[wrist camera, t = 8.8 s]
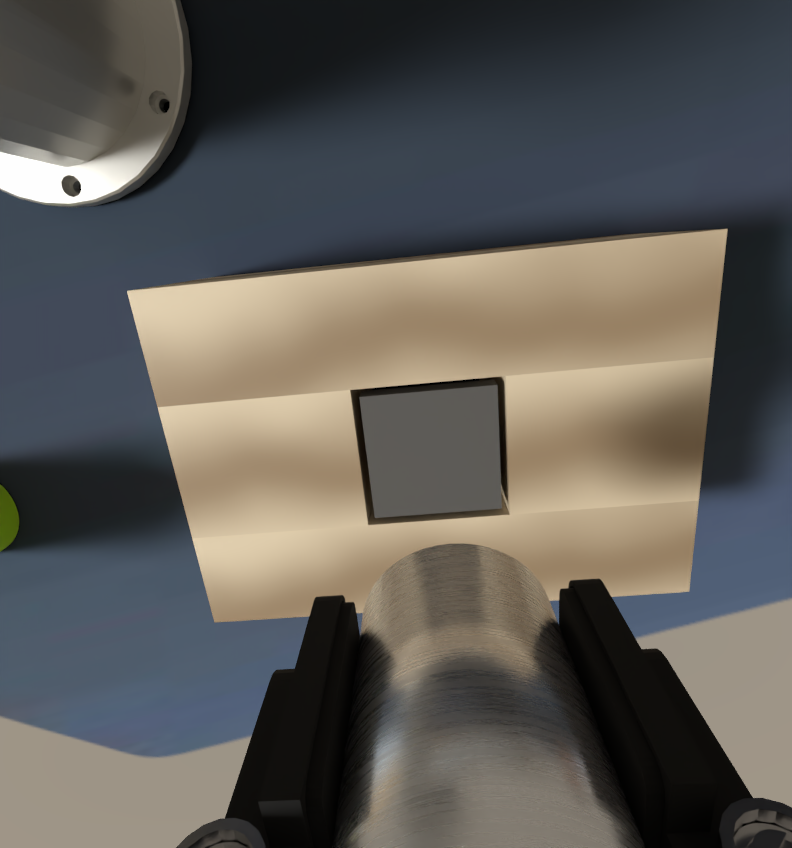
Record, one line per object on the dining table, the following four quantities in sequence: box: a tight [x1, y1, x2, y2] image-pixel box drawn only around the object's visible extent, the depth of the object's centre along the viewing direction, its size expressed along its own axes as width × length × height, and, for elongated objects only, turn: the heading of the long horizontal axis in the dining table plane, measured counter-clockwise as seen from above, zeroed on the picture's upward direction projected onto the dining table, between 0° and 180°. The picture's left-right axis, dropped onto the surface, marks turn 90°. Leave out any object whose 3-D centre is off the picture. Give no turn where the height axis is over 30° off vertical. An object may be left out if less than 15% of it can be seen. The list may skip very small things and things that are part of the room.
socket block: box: [127, 229, 728, 622], centre depth 23 cm, size 14×20×8 cm
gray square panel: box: [359, 379, 502, 518], centre depth 20 cm, size 5×5×1 cm
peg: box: [332, 543, 645, 848], centre depth 8 cm, size 4×4×7 cm
